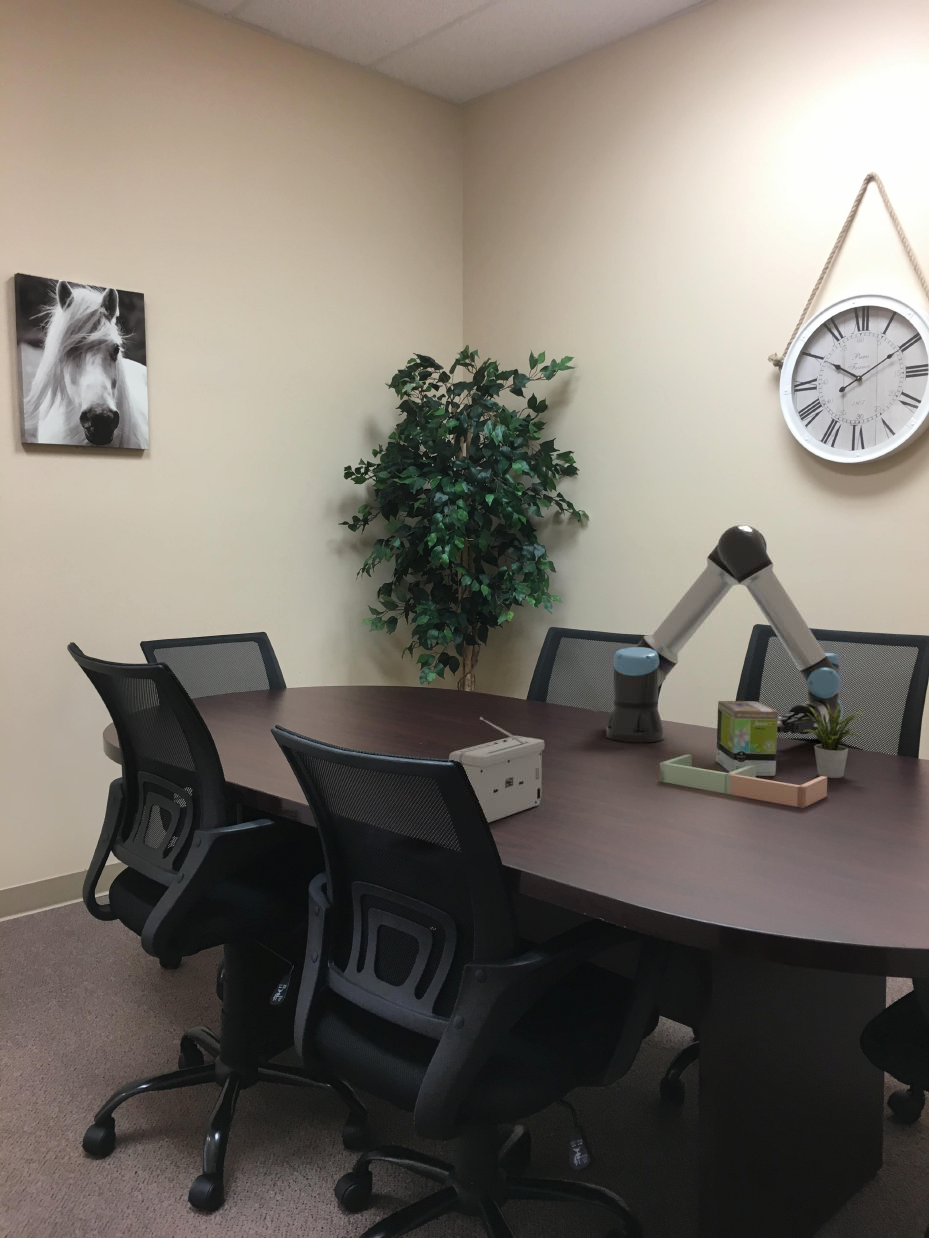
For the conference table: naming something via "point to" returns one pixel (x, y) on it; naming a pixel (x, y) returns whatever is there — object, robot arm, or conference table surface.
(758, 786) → the terracotta bay
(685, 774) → the green bay
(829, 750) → the house plant
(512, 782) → the stereo radio cassette player
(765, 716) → the tea box
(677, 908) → the conference table surface
